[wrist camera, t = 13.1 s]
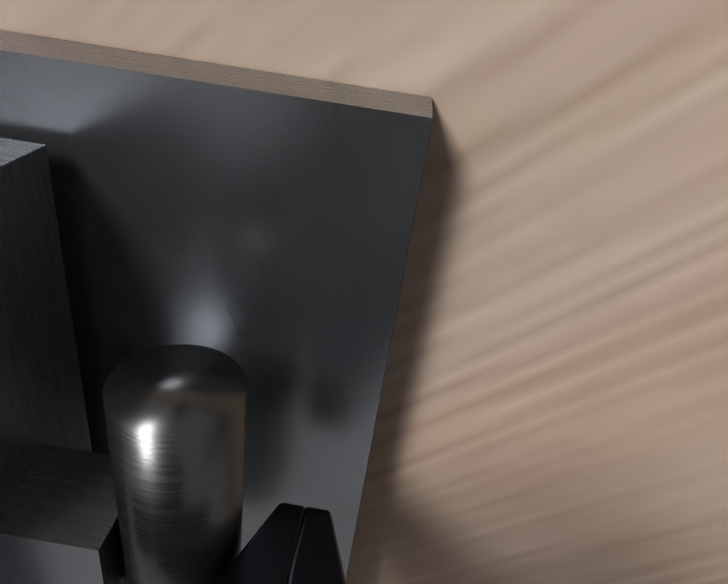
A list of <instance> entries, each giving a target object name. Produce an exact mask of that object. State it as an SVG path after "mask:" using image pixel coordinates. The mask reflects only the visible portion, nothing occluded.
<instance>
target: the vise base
mask: <svg viewBox="0 0 728 584" xmlns="http://www.w3.org/2000/svg"><path fill="white" fill-rule="evenodd" d="M432 119H433V107H432V98H431V97H425V96H418V95H412V94H406V93H399V92H393V91H386V90H380V89H374V88H367V87H361V86H355V85H348V84H342V83H335V82H329V81H323V80H316V79H310V78H304V77H297V76H291V75H284V74H278V73H272V72H265V71H259V70H252V69H246V68H240V67H233V66H227V65H221V64H214V63H208V62H201V61H195V60H189V59H182V58H176V57H170V56H163V55H157V54H150V53H144V52H138V51H131V50H125V49H118V48H112V47H106V46H99V45H93V44H87V43H80V42H74V41H67V40H61V39H55V38H48V37H42V36H35V35H29V34H23V33H16V32H10V31H4V30H0V138H7V139H13V140H19V141H25V142H32V143H38V144H44V145H46V149H47V156H48V162H49V169H50V175H51V182H52V189H53V195H54V202H55V209H56V215H57V222H58V229H59V235H60V242H61V248H62V255H63V262H64V268H65V275H66V282H67V288H68V295H69V302H70V308H71V315H72V321H73V328H74V335H75V341H76V348H77V355H78V361H79V368H80V374H81V381H82V388H83V394H84V401H85V408H86V414H87V421H88V428H89V434H90V441H91V447H92V452H97V453H102V454H108V455H110V451H109V443H108V436H107V428H106V420H105V413H104V405H103V387H104V384H105V382H106V380H107V378H108V376H109V375H110V374H111V372H112V371H113V370H114V369H115V368H116V367H117V366H118V365H120V364H121V363H122V362H124V361H125V360H127V359H128V358H130V357H132V356H134V355H136V354H138V353H140V352H143V351H146V350H149V349H152V348H156V347H160V346H166V345H175V344H191V345H200V346H205V347H209V348H213V349H216V350H218V351H221V352H223V353H225V354H227V355H228V356H230V357H231V358H233V359H234V360H235V361H236V362H237V363H238V364H239V365H240V366H241V367H242V369H243V371H244V373H245V375H246V379H247V401H246V429H245V457H244V485H243V513H242V542H241V551H242V549H243V548H244V547H245V546H246V544H247V543H248V542H249V541H250V539H251V538H252V537H253V536H254V534H255V533H256V532H257V531H258V529H259V528H260V527H261V526H262V524H263V523H264V522H265V521H266V519H267V518H268V517H269V516H270V514H271V513H272V512H273V511H274V509H275V508H276V507H277V506H278V505H279V504H281V503H289V504H295V505H301V506H304V507H305V508H307V507H313V508H319V509H325V510H328V511H330V513H331V515H332V518H333V523H334V528H335V533H336V537H337V542H338V547H339V551H340V556H341V561H342V565H343V570H344V575H345V580H346V575H347V570H348V565H349V559H350V554H351V549H352V543H353V538H354V533H355V528H356V522H357V517H358V512H359V506H360V501H361V496H362V490H363V485H364V480H365V474H366V469H367V464H368V459H369V453H370V448H371V443H372V437H373V432H374V427H375V421H376V416H377V411H378V405H379V400H380V395H381V390H382V384H383V379H384V374H385V368H386V363H387V358H388V352H389V347H390V342H391V336H392V331H393V326H394V321H395V315H396V310H397V305H398V299H399V294H400V289H401V283H402V278H403V273H404V268H405V262H406V257H407V252H408V246H409V241H410V236H411V230H412V225H413V220H414V214H415V209H416V204H417V199H418V193H419V188H420V183H421V177H422V172H423V167H424V161H425V156H426V151H427V145H428V140H429V135H430V130H431V124H432ZM126 584H127V583H126Z"/></svg>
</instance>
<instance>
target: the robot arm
mask: <svg viewBox="0 0 728 584" xmlns="http://www.w3.org/2000/svg"><path fill="white" fill-rule="evenodd" d="M215 584H346V580H345V575H344V570H343V565H342V561H341V556H340V551H339V547H338V542H337V537H336V533H335V528H334V523H333V518H332V515H331V513H330V511H328V510H325V509H319V508H313V507H307V508H305V507H304V506H301V505H295V504H289V503H281V504H279V505H278V506H277V507H276V508H275V509H274V511H273V512H272V513H271V514H270V516H269V517H268V518H267V519H266V521H265V522H264V523H263V524H262V526H261V527H260V528H259V529H258V531H257V532H256V533H255V534H254V536H253V537H252V538H251V539H250V541H249V542H248V543H247V544H246V546H245V547H244V548H243V549H242V551H241V552H240V553H239V554H238V556H237V557H236V558H235V559H234V561H233V562H232V563H231V564H230V566H229V567H228V568H227V569H226V571H225V572H224V573H223V574H222V576H221V577H220V578H219V579H218V581H217V582H216V583H215Z"/></svg>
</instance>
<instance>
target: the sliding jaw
mask: <svg viewBox="0 0 728 584" xmlns="http://www.w3.org/2000/svg"><path fill="white" fill-rule="evenodd" d="M246 401H247V379H246V375H245V373H244V371H243V369H242V367H241V366H240V365H239V364H238V363H237V362H236V361H235V360H234V359H233V358H231V357H230V356H228V355H227V354H225V353H223V352H221V351H218V350H216V349H213V348H209V347H205V346H200V345H191V344H175V345H166V346H160V347H156V348H152V349H149V350H146V351H143V352H140V353H138V354H136V355H134V356H132V357H130V358H128V359H127V360H125V361H124V362H122V363H121V364H120V365H118V366H117V367H116V368H115V369H114V370H113V371H112V372H111V374H110V375H109V376H108V378H107V380H106V382H105V384H104V387H103V405H104V413H105V420H106V428H107V436H108V443H109V451H110V455H108V454H102V453H97V452H92V447H91V441H90V434H89V428H88V421H87V414H86V408H85V401H84V394H83V388H82V381H81V374H80V368H79V361H78V355H77V348H76V341H75V335H74V328H73V321H72V315H71V308H70V302H69V295H68V288H67V282H66V275H65V268H64V262H63V255H62V248H61V242H60V235H59V229H58V222H57V215H56V209H55V202H54V195H53V189H52V182H51V175H50V169H49V162H48V156H47V149H46V145H44V144H38V143H32V142H25V141H19V140H13V139H7V138H0V584H126V583H127V584H215V583H216V582H217V581H218V579H219V578H220V577H221V576H222V574H223V573H224V572H225V571H226V569H227V568H228V567H229V566H230V564H231V563H232V562H233V561H234V559H235V558H236V557H237V556H238V554H239V553H240V552H241V542H242V513H243V485H244V457H245V429H246Z"/></svg>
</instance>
